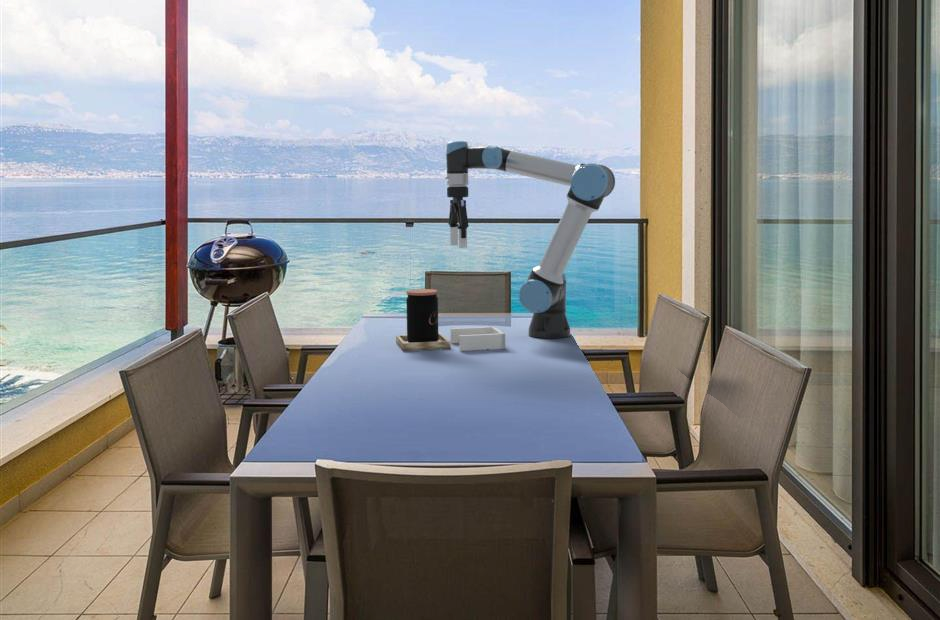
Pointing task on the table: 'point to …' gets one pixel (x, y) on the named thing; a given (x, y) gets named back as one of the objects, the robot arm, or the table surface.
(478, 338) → the frame
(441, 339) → the tray
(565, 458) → the table surface
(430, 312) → the coffee jar
